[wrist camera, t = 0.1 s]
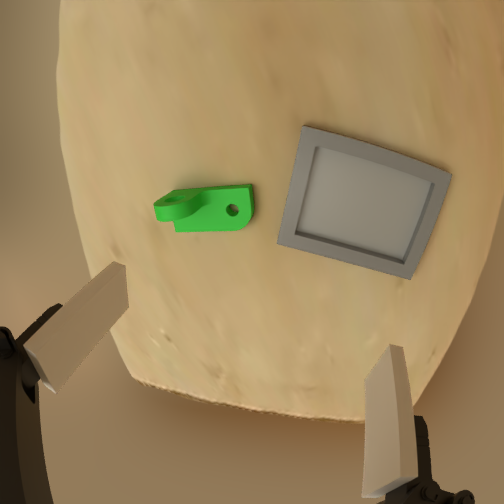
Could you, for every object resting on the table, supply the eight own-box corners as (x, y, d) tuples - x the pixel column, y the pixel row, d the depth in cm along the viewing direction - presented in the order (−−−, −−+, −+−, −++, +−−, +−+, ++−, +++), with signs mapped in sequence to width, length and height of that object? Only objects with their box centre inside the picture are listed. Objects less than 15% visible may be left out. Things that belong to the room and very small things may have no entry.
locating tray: (303, 125, 34) (302, 126, 32) (446, 171, 31) (452, 174, 30) (278, 237, 42) (276, 243, 40) (407, 272, 39) (410, 280, 37)
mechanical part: (181, 227, 45) (156, 250, 38) (174, 190, 42) (145, 208, 35) (256, 225, 42) (242, 250, 35) (252, 183, 39) (235, 201, 32)
